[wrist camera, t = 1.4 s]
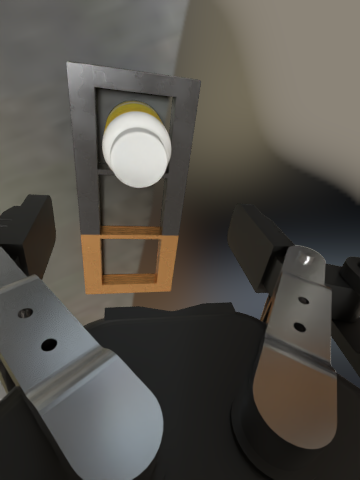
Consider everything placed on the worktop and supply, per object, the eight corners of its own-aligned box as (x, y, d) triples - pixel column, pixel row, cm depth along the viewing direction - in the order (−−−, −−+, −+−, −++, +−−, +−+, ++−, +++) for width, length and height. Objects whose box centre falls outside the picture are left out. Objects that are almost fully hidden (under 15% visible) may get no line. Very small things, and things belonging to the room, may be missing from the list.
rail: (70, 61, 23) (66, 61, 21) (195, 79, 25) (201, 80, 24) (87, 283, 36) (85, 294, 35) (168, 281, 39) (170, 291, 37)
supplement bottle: (94, 114, 25) (82, 140, 17) (147, 89, 25) (159, 103, 17) (122, 165, 28) (123, 208, 20) (169, 144, 28) (189, 178, 20)
